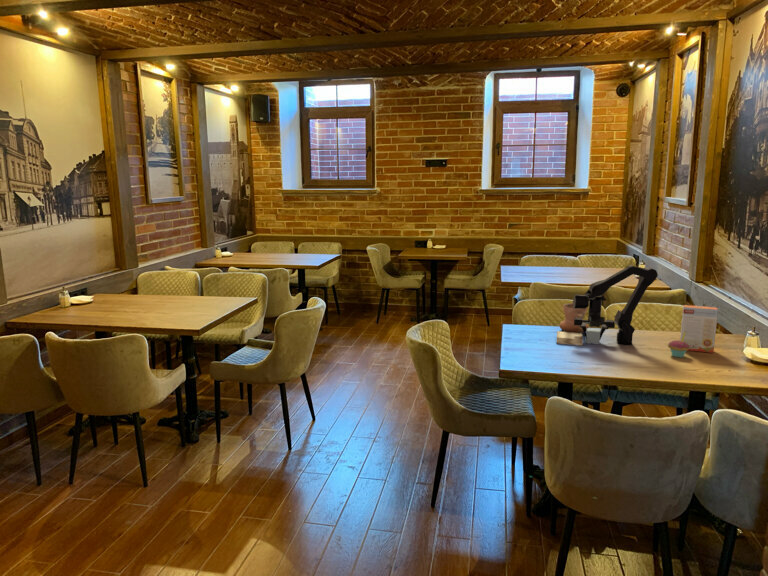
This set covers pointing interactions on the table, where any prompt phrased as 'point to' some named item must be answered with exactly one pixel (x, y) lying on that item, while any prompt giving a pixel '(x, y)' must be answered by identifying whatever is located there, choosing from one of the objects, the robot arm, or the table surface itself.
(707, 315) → the cracker box
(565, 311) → the ceramic jug
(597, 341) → the gray cube
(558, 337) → the birch board
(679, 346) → the cupcake
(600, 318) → the robot arm
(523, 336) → the table surface
